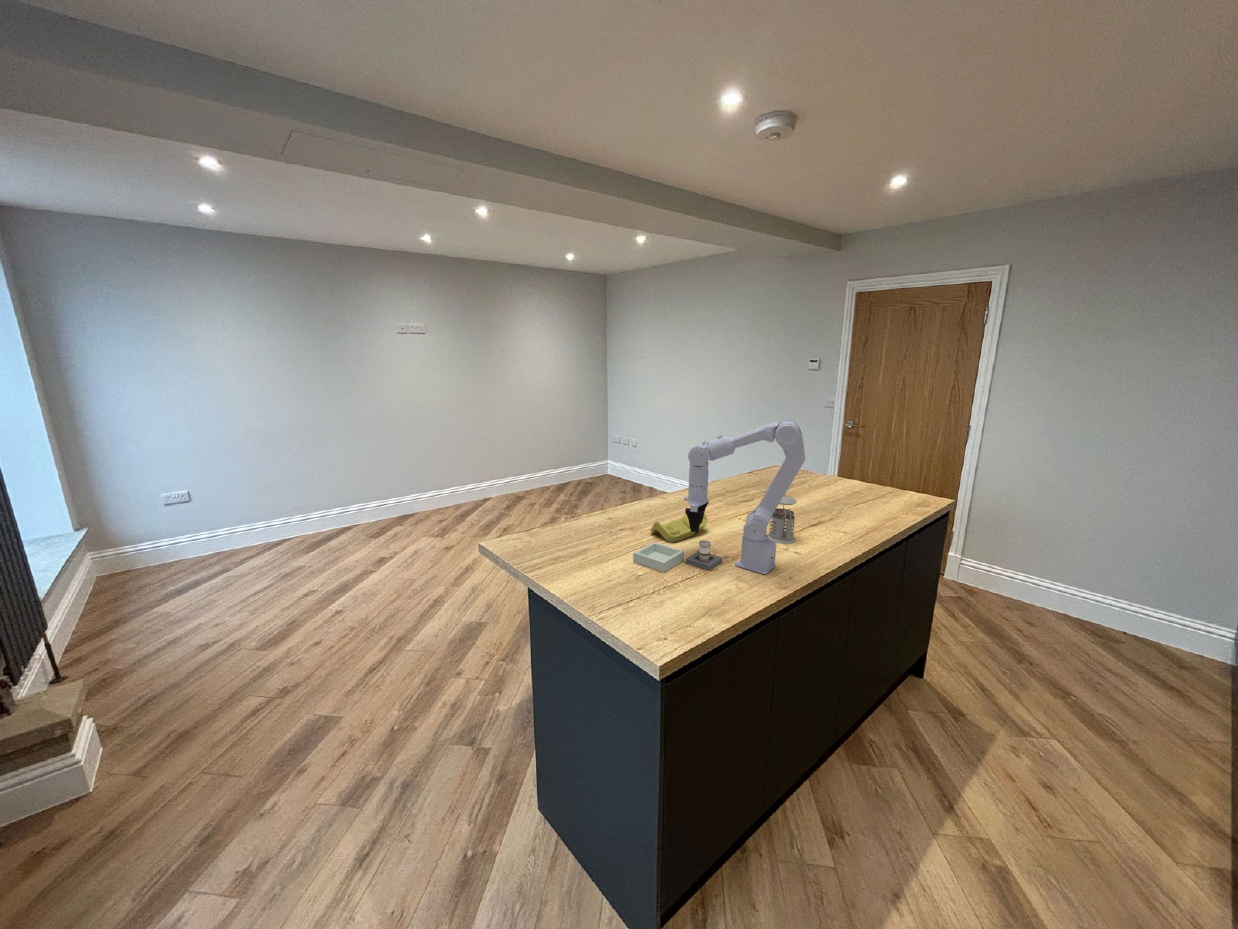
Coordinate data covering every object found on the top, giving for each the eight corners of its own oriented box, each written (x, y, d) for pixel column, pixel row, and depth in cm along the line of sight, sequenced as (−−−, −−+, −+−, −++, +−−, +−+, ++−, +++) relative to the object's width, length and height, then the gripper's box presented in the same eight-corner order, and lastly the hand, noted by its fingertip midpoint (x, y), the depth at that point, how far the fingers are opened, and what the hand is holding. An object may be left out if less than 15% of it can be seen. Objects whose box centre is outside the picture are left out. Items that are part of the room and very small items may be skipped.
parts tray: (683, 560, 140) (684, 551, 139) (663, 572, 132) (663, 563, 131) (654, 550, 147) (654, 541, 146) (633, 561, 138) (633, 552, 138)
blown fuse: (711, 562, 139) (712, 542, 137) (706, 566, 136) (707, 545, 135) (701, 559, 141) (702, 539, 139) (696, 563, 138) (697, 542, 137)
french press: (791, 533, 163) (798, 465, 157) (800, 546, 151) (808, 473, 146) (763, 532, 163) (768, 464, 158) (770, 545, 152) (776, 472, 147)
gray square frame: (722, 562, 139) (722, 557, 139) (709, 571, 133) (709, 566, 133) (698, 555, 144) (699, 550, 144) (685, 563, 138) (685, 558, 137)
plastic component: (672, 538, 151) (653, 518, 157) (666, 553, 155) (648, 533, 161) (713, 522, 162) (694, 504, 168) (706, 536, 167) (688, 518, 173)
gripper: (689, 477, 146) (687, 518, 149) (680, 489, 132) (679, 534, 135) (711, 479, 144) (709, 520, 147) (705, 491, 130) (703, 536, 133)
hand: (696, 527), depth 141 cm, fingers open, 7 cm apart
